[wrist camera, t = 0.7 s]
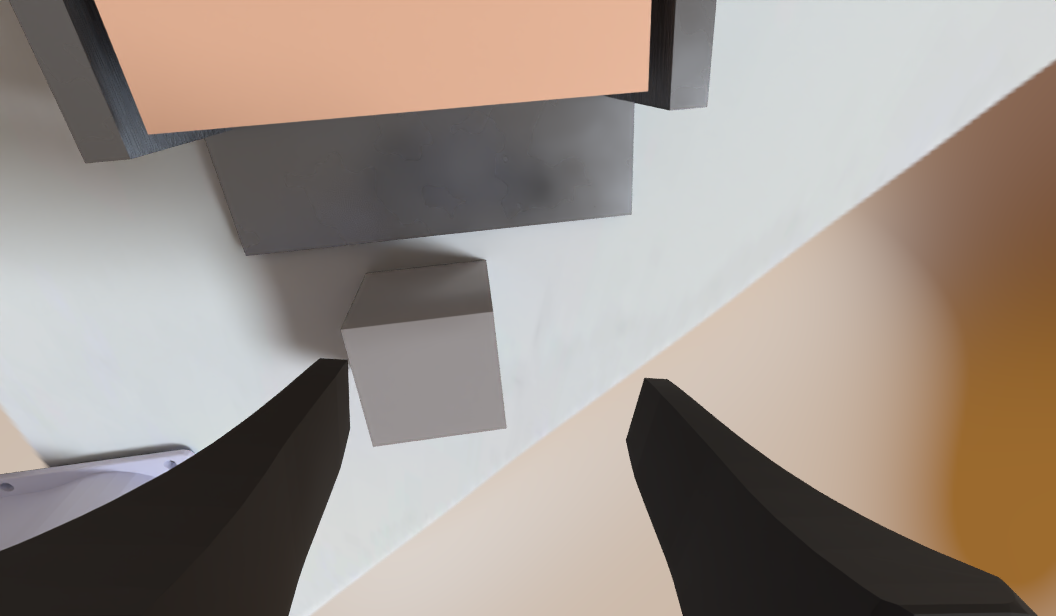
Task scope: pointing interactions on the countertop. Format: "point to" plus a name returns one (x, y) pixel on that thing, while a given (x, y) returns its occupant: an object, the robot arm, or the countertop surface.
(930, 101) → the countertop surface
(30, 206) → the countertop surface
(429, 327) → the grey cube
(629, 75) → the trapdoor
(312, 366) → the robot arm
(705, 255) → the countertop surface
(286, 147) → the trapdoor frame
